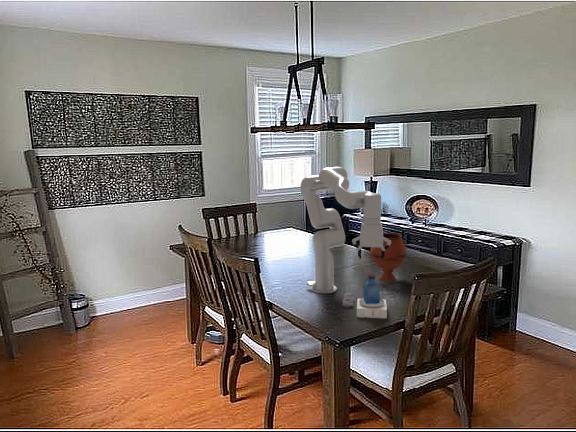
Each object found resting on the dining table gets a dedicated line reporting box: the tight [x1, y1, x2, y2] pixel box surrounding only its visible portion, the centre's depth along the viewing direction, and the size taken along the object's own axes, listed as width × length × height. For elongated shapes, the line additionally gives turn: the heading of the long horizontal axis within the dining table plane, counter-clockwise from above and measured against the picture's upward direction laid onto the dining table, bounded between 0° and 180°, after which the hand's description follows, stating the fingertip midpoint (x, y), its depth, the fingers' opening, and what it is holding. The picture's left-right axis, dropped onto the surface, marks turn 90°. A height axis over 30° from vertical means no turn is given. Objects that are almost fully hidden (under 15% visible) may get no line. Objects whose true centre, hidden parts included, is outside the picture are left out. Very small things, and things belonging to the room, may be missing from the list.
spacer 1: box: [342, 292, 355, 302], centre depth 228 cm, size 5×5×3 cm
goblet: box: [369, 232, 407, 282], centre depth 258 cm, size 19×19×25 cm
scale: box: [356, 297, 388, 319], centre depth 212 cm, size 13×14×4 cm
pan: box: [359, 297, 384, 307], centre depth 212 cm, size 11×11×1 cm
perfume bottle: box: [362, 274, 381, 304], centre depth 211 cm, size 6×6×12 cm
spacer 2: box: [342, 298, 354, 308], centre depth 221 cm, size 5×5×3 cm
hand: (371, 258), depth 211 cm, fingers open, 9 cm apart
